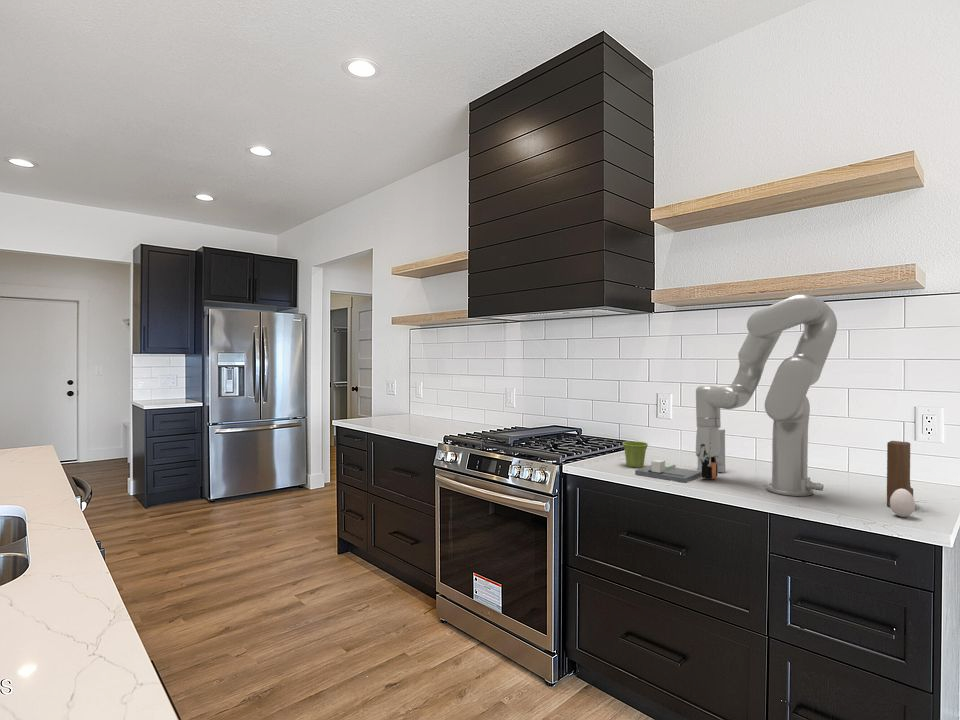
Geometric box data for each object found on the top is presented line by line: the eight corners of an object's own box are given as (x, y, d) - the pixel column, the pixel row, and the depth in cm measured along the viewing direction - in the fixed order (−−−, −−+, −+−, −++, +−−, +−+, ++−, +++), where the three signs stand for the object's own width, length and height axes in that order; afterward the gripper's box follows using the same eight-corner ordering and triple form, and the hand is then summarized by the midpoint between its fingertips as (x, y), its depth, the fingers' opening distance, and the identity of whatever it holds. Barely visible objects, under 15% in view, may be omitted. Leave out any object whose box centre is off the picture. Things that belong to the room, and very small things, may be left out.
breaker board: (702, 475, 195) (702, 469, 194) (685, 482, 184) (685, 476, 184) (653, 468, 207) (653, 462, 207) (635, 474, 197) (635, 468, 197)
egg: (891, 517, 146) (891, 489, 145) (888, 512, 150) (888, 485, 150) (916, 521, 143) (917, 492, 143) (913, 515, 148) (913, 487, 147)
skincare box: (720, 469, 205) (720, 426, 205) (726, 473, 199) (726, 429, 199) (696, 469, 206) (696, 426, 206) (701, 472, 200) (701, 429, 199)
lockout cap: (718, 477, 189) (717, 462, 189) (713, 479, 187) (713, 464, 187) (706, 475, 192) (705, 461, 192) (701, 477, 189) (701, 462, 189)
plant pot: (653, 467, 208) (653, 444, 208) (632, 469, 205) (632, 446, 205) (637, 463, 217) (637, 440, 217) (617, 465, 214) (617, 442, 213)
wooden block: (894, 500, 162) (894, 438, 162) (913, 504, 159) (914, 440, 158) (886, 506, 156) (887, 442, 156) (906, 510, 153) (907, 444, 152)
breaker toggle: (664, 470, 194) (665, 460, 194) (659, 472, 191) (659, 462, 191) (656, 469, 196) (656, 459, 196) (651, 471, 193) (651, 461, 193)
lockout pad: (675, 467, 202) (675, 464, 202) (667, 469, 197) (667, 467, 197) (659, 465, 206) (659, 462, 206) (651, 467, 202) (651, 464, 202)
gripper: (707, 419, 198) (708, 471, 198) (687, 424, 186) (688, 479, 186) (729, 421, 193) (730, 474, 193) (709, 425, 181) (711, 482, 181)
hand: (709, 476), depth 189 cm, fingers closed on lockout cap, 4 cm apart
